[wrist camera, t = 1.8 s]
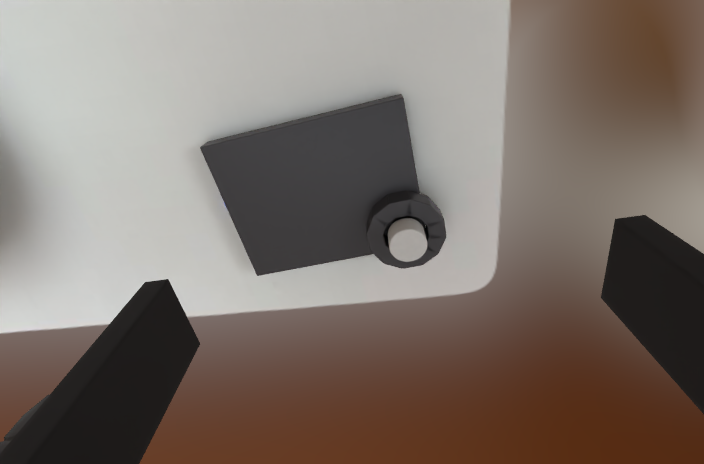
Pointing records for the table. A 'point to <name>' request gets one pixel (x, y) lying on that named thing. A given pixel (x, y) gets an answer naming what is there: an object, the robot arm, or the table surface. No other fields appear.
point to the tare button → (407, 239)
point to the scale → (324, 187)
